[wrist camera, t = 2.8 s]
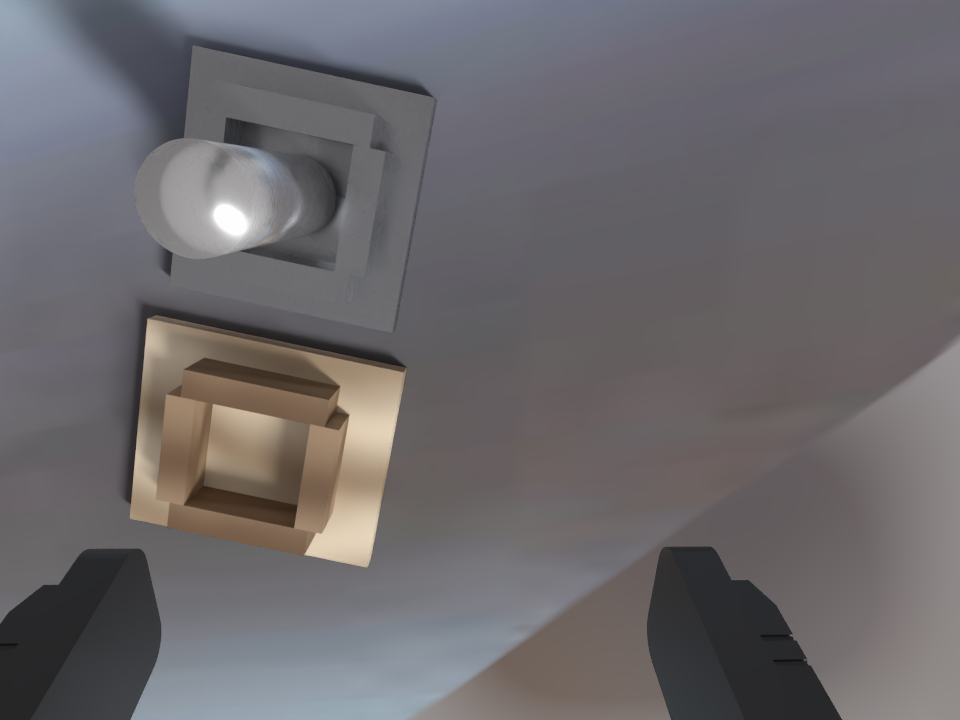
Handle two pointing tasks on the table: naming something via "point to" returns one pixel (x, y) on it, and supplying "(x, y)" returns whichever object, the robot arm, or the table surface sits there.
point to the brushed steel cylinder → (229, 197)
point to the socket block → (352, 167)
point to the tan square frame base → (263, 440)
